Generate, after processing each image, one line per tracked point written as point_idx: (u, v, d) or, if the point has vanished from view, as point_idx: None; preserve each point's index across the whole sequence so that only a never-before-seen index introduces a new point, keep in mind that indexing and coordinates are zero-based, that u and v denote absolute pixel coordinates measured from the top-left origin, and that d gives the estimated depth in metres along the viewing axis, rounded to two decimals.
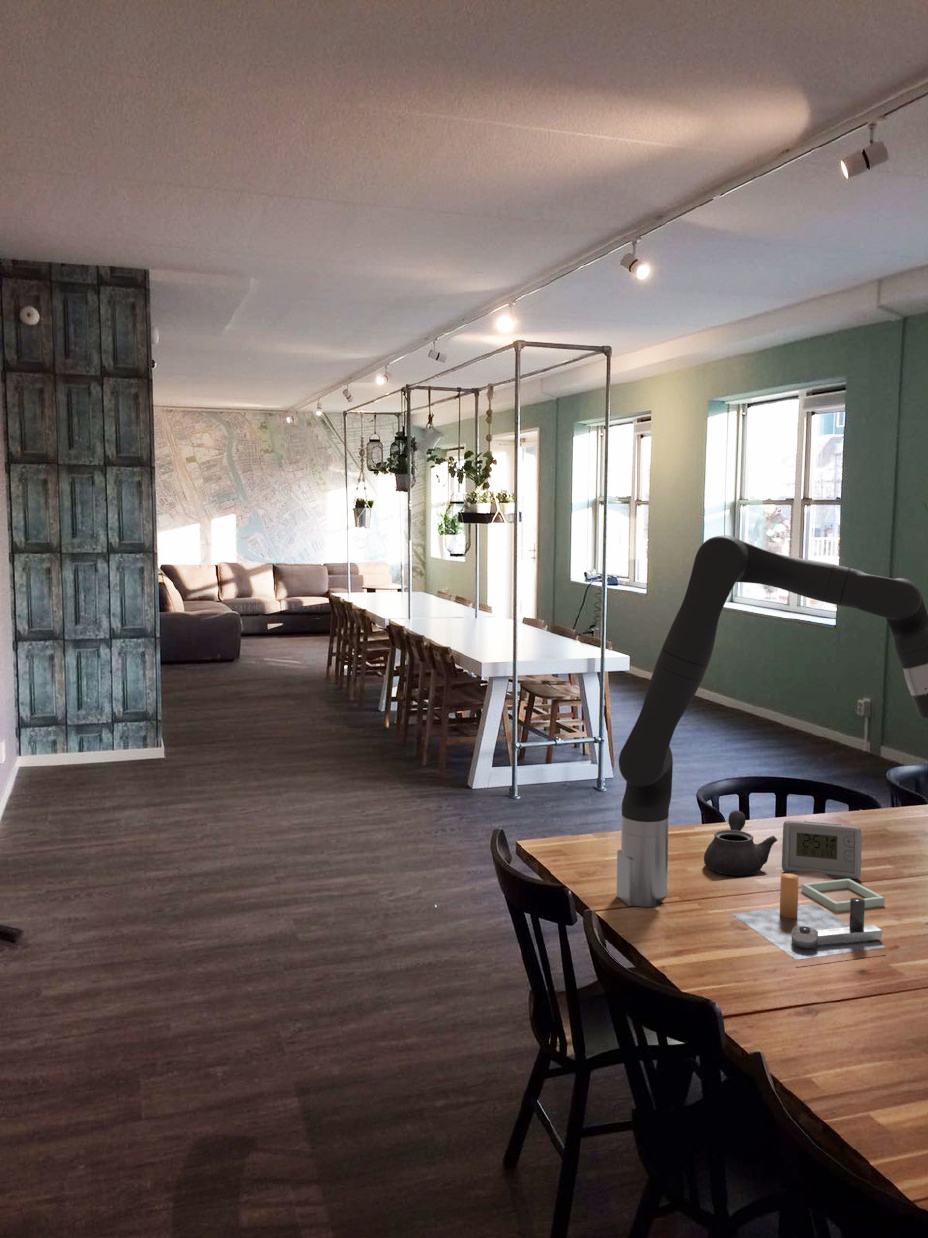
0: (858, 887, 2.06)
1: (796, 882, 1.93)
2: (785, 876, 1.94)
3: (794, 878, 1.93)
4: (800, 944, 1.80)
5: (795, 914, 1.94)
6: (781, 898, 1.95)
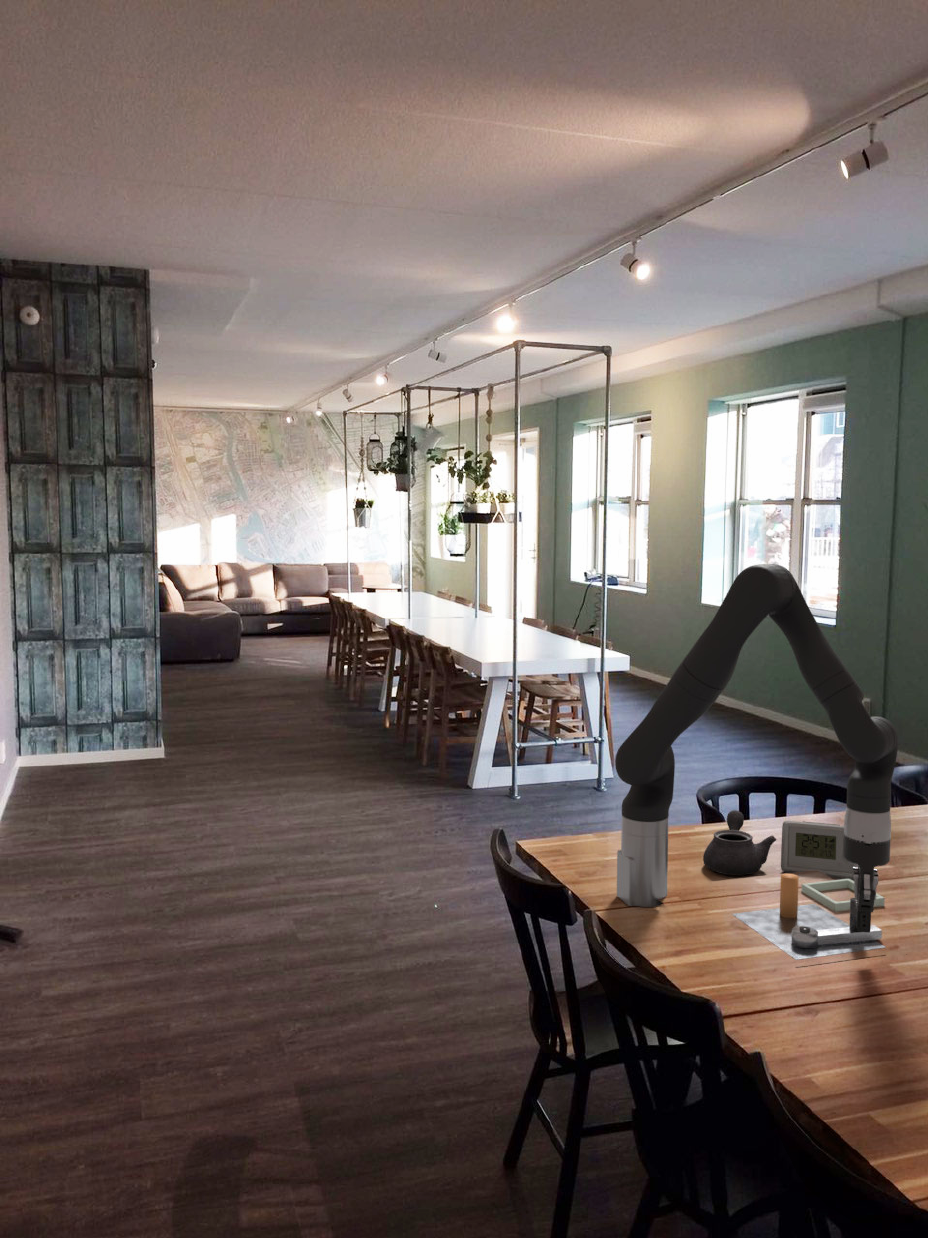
0: None
1: (796, 882, 1.93)
2: (785, 876, 1.94)
3: (794, 878, 1.93)
4: (800, 944, 1.80)
5: (795, 914, 1.94)
6: (781, 898, 1.95)
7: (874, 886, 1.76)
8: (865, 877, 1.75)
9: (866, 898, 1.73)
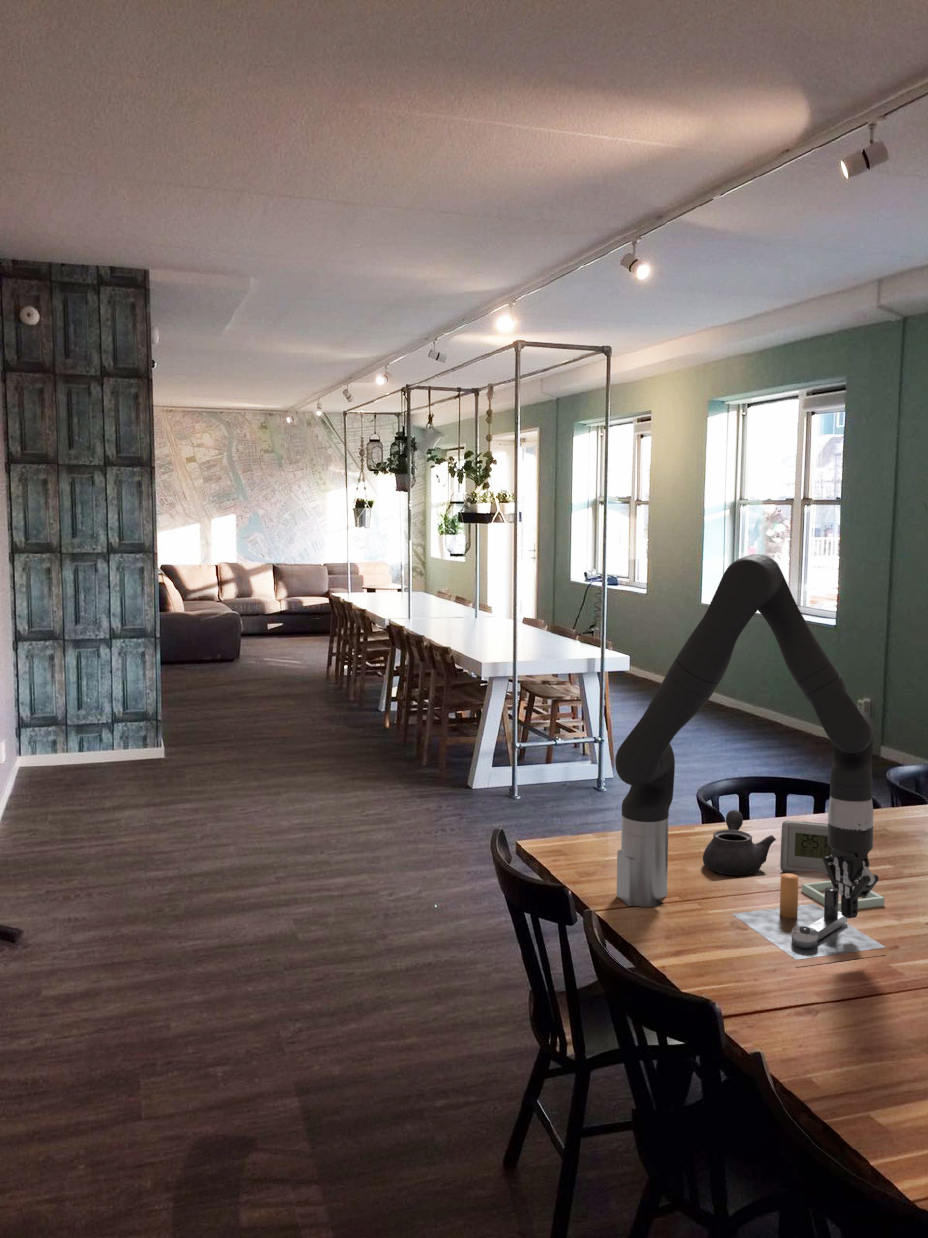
0: None
1: (796, 882, 1.93)
2: (785, 876, 1.94)
3: (794, 878, 1.93)
4: (808, 945, 1.80)
5: (795, 914, 1.94)
6: (781, 898, 1.95)
7: None
8: (862, 864, 1.80)
9: (870, 884, 1.79)
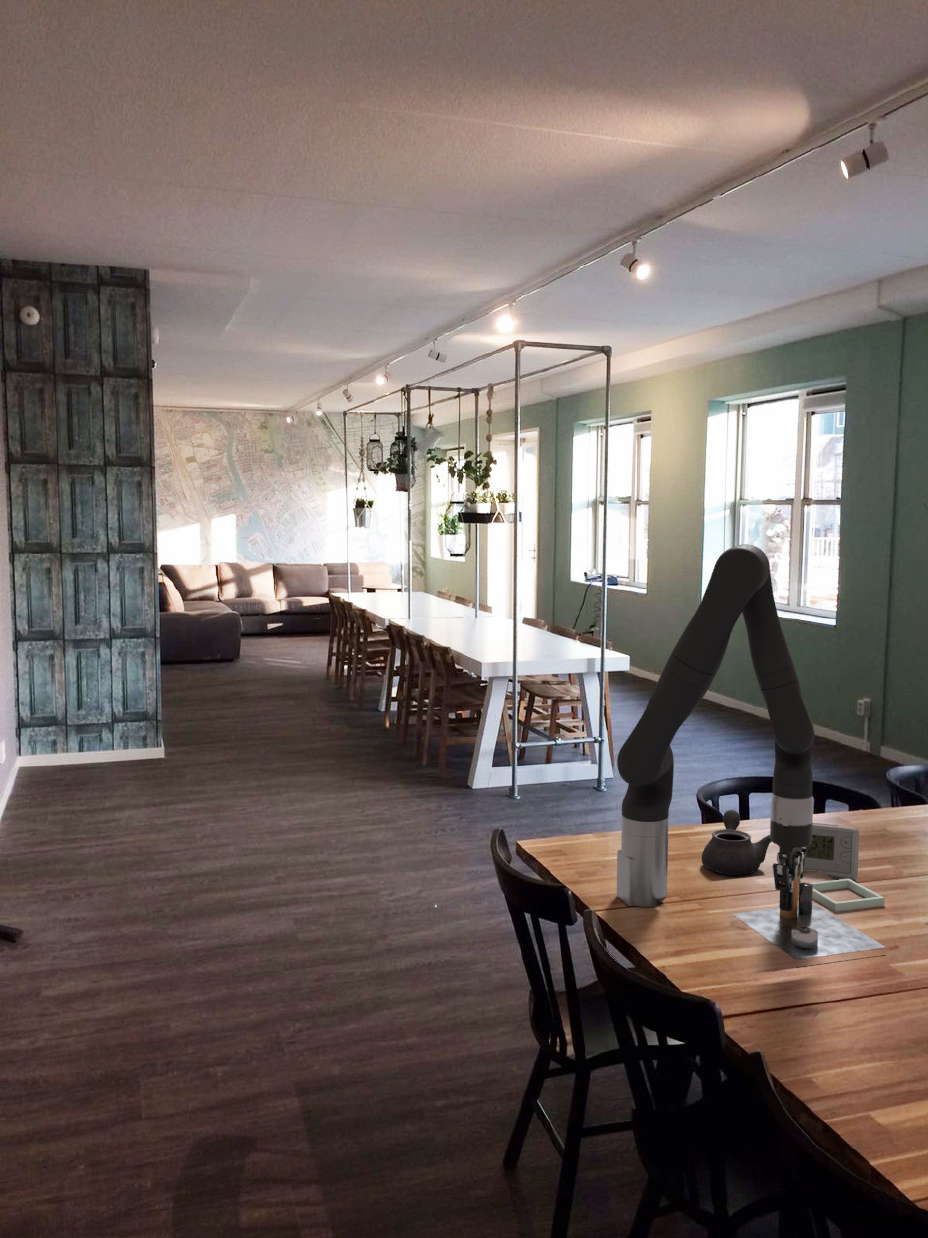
0: (858, 887, 2.06)
1: (796, 882, 1.93)
2: None
3: None
4: (813, 945, 1.80)
5: (795, 914, 1.94)
6: None
7: (794, 866, 1.92)
8: (783, 856, 1.91)
9: (779, 873, 1.89)
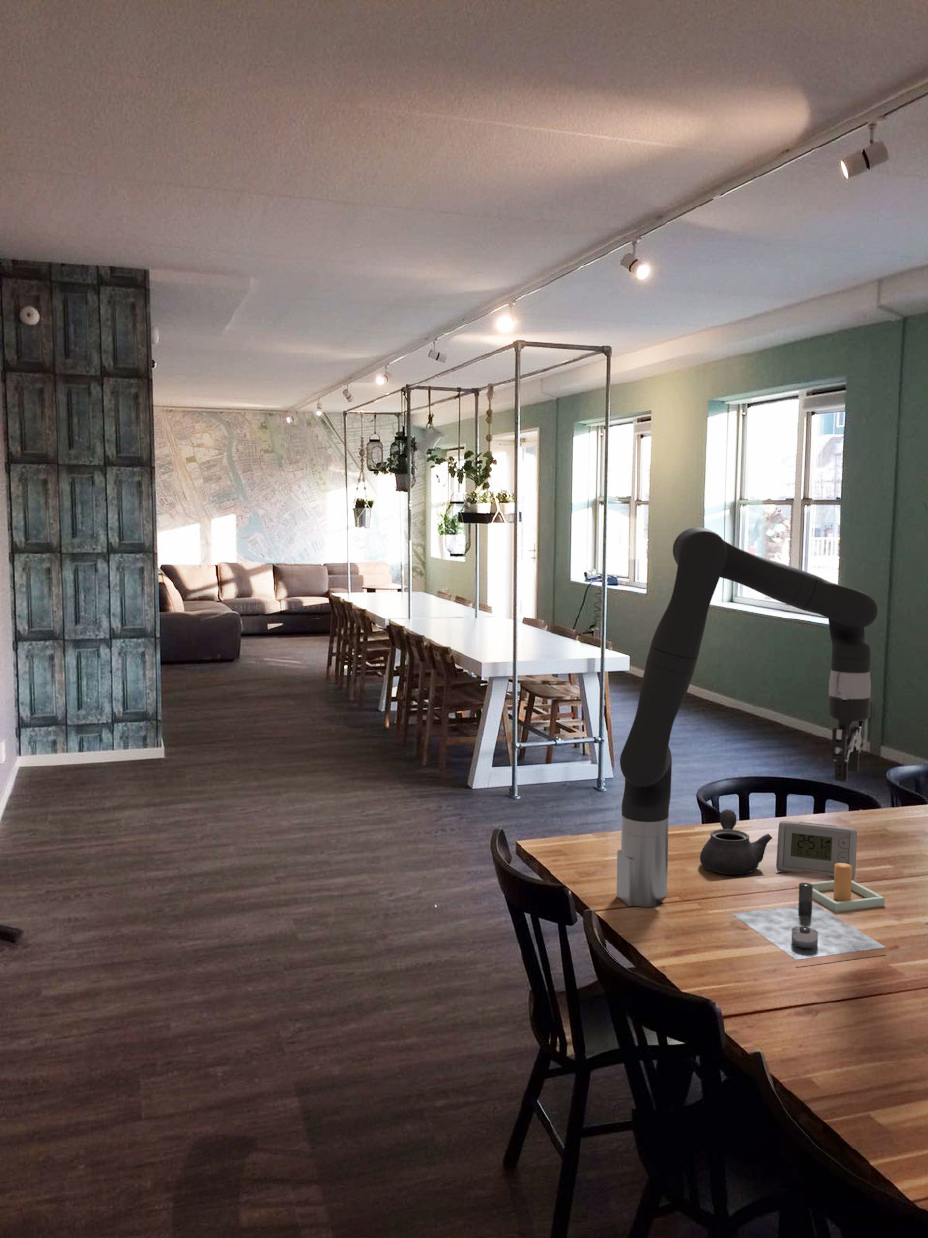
0: (858, 887, 2.06)
1: (850, 871, 2.02)
2: (839, 866, 2.03)
3: (848, 867, 2.02)
4: (813, 945, 1.80)
5: None
6: (835, 886, 2.03)
7: (852, 737, 1.97)
8: (842, 727, 1.97)
9: (838, 736, 1.94)
